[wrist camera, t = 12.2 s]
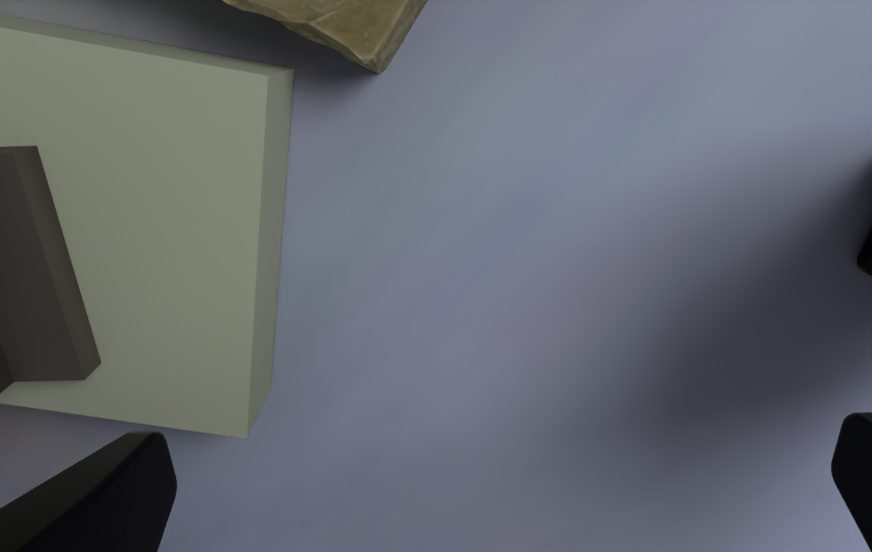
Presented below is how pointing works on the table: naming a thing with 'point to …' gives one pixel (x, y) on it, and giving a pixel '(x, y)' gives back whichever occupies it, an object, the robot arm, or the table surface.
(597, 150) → the table surface
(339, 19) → the decorative tile
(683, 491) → the table surface
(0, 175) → the dark photo frame
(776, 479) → the table surface
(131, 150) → the picture ledge
